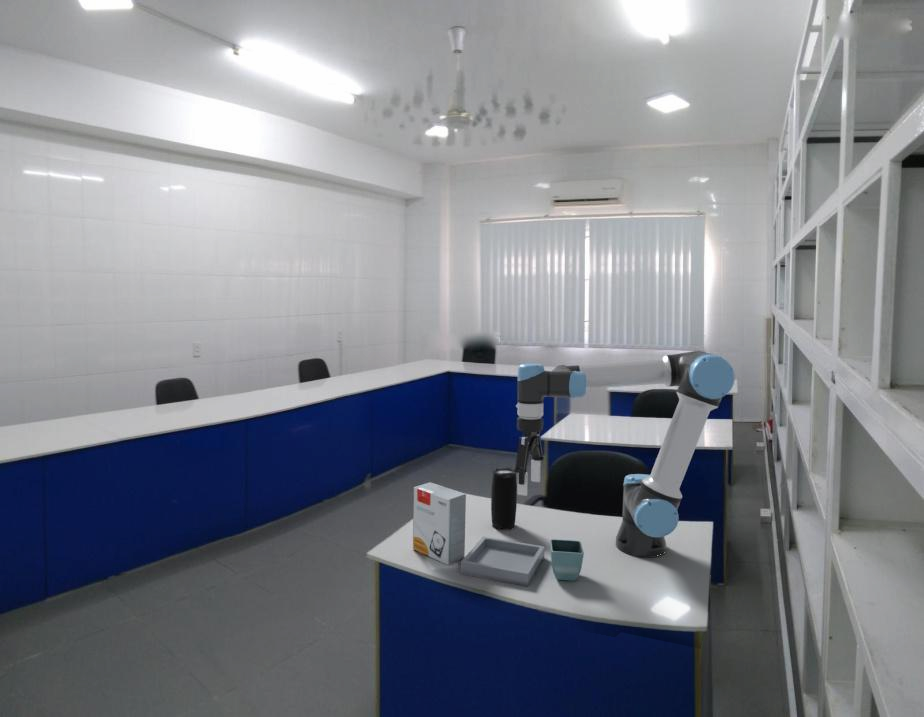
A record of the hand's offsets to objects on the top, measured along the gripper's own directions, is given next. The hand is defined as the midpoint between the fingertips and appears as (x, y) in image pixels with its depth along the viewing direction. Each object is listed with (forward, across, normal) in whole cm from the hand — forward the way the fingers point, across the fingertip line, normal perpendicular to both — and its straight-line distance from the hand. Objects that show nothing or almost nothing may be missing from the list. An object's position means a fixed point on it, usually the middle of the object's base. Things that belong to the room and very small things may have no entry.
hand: (529, 488), depth 174 cm
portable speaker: (+22, -22, -15) cm, 35 cm away
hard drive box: (+22, +8, -26) cm, 35 cm away
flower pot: (+22, +6, +13) cm, 26 cm away
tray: (+22, +7, -5) cm, 23 cm away
